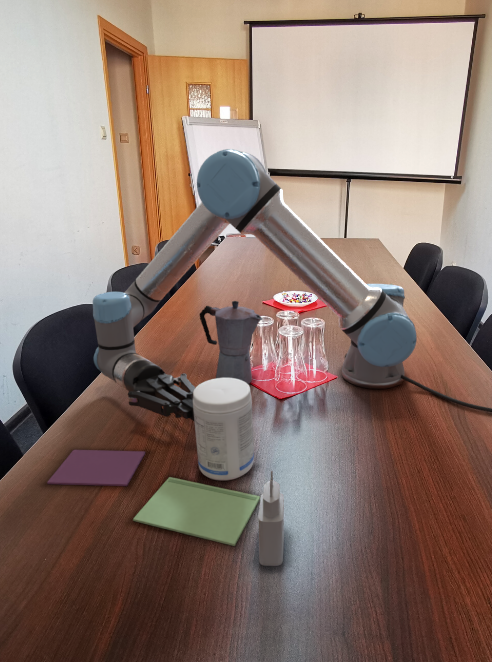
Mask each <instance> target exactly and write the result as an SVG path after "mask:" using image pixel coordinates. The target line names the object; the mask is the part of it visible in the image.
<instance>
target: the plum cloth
mask: <svg viewBox="0 0 492 662" xmlns="http://www.w3.org/2000/svg"><path fill="white" fill-rule="evenodd" d="M145 455H146V450H145V451H144V450H143V451H141V450H102V449H101V450H99V449H97V450H96V449H73V450H72V451H71V452H70V454H69V455H68V456H67V457H66V459H65V460H64V461H63V462H62V463H61V465H60V466H59V467H58V468H57V469H56V471H55V472H54V473H53V474H52V476H51V477H50V478H49V479H48V481H47V482H46V484H47V485H65V486H66V485H67V486H104V487H105V486H106V487H107V486H109V487H128V485H129V484H130V481H131V480H132V478H133V476H134V474H135V472H136V471H137V470H138V468H139V466H140V463H141V462H142V460H143V459H144V457H145Z"/></svg>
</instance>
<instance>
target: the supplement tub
mask: <svg viewBox="0 0 492 662" xmlns="http://www.w3.org/2000/svg"><path fill="white" fill-rule="evenodd" d="M193 409H194V421H195V422H194V421H193V422H194V428H195V429H194V433H195V443H196V453H197V454H196V455H197V462H198V468H199V471H200V472H201V473H202V474H203V475H204V476H205V477H207V478H209V479H211V480H215V481H231V480H236V479H238V478H240V477H242V476H244V475H245V474H247V473H248V472H250V470H251V469H252V467H253V465H254V462H255V449H254V448H255V447H254V445H255V444H254V423H253V398H252V393H251V387H250V384H247V383H246V382H244V381H242V380H239V379H235V378H216V377H215V378H212V379H208V380H205V381H203V382H201V383H199V384H198V385H197V386H195V389H194V391H193Z"/></svg>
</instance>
